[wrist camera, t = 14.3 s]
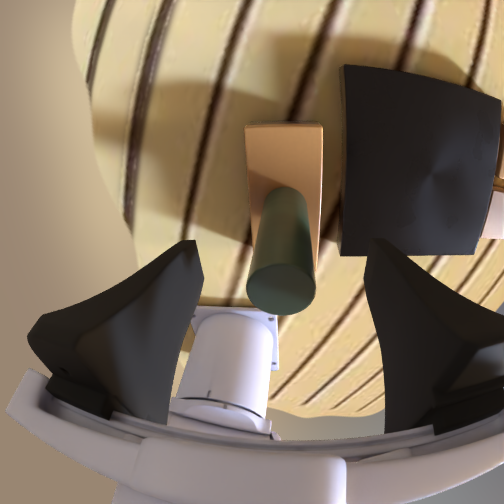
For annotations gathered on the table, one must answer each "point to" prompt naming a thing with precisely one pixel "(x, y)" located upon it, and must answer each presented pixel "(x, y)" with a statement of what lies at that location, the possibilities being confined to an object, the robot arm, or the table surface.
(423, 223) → the enamel panel
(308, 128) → the brush
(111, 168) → the table surface
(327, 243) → the table surface
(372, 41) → the table surface
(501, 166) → the chip
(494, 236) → the chip
